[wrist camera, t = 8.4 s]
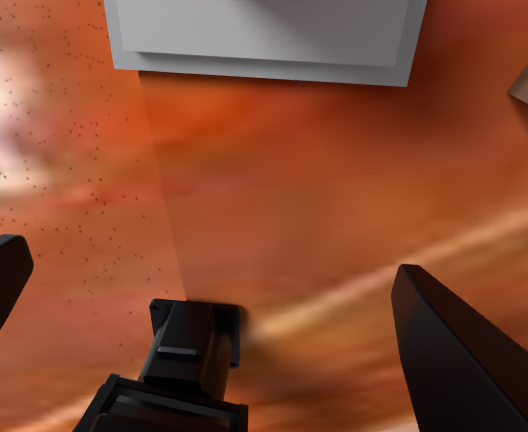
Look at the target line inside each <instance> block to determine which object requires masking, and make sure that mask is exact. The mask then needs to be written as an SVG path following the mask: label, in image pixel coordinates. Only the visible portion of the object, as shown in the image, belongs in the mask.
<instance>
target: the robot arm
mask: <svg viewBox="0 0 528 432" xmlns="http://www.w3.org/2000/svg"><path fill="white" fill-rule="evenodd" d="M33 267H34V262H33V259H32V256H31V253H30V250H29V247H28V244H27V241H26V239H25V238H24V237H23V236H21V235H14V234H3V235H0V330H1V328H2V326H3V325H4V323H5V321H6V320H7V318H8V316H9V314H10V312H11V311H12V309H13V307H14V305H15V303H16V301H17V299H18V298H19V296H20V294H21V292H22V290H23V288H24V287H25V285H26V283H27V281H28V279H29V277H30V275H31V274H32V271H33ZM391 301H392V308H393V314H394V321H395V328H396V335H397V342H398V349H399V355H400V360H401V364H402V368H403V372H404V376H405V380H406V383H407V387H408V391H409V394H410V398H411V402H412V405H413V409H414V413H415V417H416V420H417V424H418V428H419V431H420V432H528V351H527V350H526V349H524V348H523V347H522V346H520V345H519V344H518V343H517V342H515V341H514V340H513V339H512V338H510V337H509V336H508V335H507V334H505V333H504V332H503V331H502V330H500V329H499V328H498V327H496V326H495V325H494V324H493V323H491V322H490V321H489V320H488V319H486V318H485V317H484V316H483V315H481V314H480V313H479V312H477V311H476V310H475V309H474V308H472V307H471V306H470V305H469V304H467V303H466V302H465V301H464V300H462V299H461V298H460V297H459V296H457V295H456V294H455V293H453V292H452V291H451V290H450V289H448V288H447V287H446V286H445V285H443V284H442V283H441V282H440V281H438V280H437V279H436V278H435V277H433V276H432V275H431V274H429V273H428V272H427V271H426V270H424V269H423V268H422V267H420V266H419V265H412V264H401V265H400V266H399V268H398V271H397V274H396V278H395V281H394V285H393V288H392V293H391ZM156 305H157V306H156ZM149 308H150V314H151V320H152V327H153V333H154V341H153V343H152V346H151V348H150V351H149V353H148V356H147V358H146V361H145V363H144V366H143V368H142V370H141V373H140V375H139V378H138V380H137V381H136V380H132V379H128V378H123V377H120V375H117V374H113V373H111V375H110V376H109V378H108V379H107V381H106V383H105V384H102V386H101V387H100V388H99V389H98V391H97V393H96V395H95V397H94V399H93V400H92V402H91V404H90V405H89V407H88V408H87V410H86V412H85V413H84V415H83V417H82V418H81V420H80V422H79V423H78V425H77V426H76V427H75V428H74V429H73V431H72V432H248V405H245V404H241V403H240V404H239V405H238V404H234V403H230V402H225V401H224V395H225V390H226V384H227V378H228V373H229V368H232V369H234V368H237V367H238V366H239V361H240V309H239V307H237V306H234V305H223V304H212V303H201V302H189V301H178V300H166V299H153V300H152V301H151V303H150V306H149ZM232 312H235V313H232Z"/></svg>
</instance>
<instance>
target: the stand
mask: <svg viewBox="0 0 528 432" xmlns="http://www.w3.org/2000/svg"><path fill="white" fill-rule="evenodd" d="M426 3H427V0H104V6H105V12H106V18H107V25H108V31H109V38H110V44H111V51H112V57H113V64H114V69H129V70H145V71H161V72H177V73H193V74H209V75H225V76H241V77H257V78H273V79H289V80H305V81H321V82H337V83H353V84H369V85H385V86H401V87H407V84H408V79H409V75H410V71H411V67H412V62H413V58H414V54H415V50H416V45H417V41H418V37H419V33H420V29H421V24H422V20H423V16H424V12H425V7H426Z"/></svg>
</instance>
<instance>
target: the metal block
mask: <svg viewBox="0 0 528 432" xmlns="http://www.w3.org/2000/svg"><path fill="white" fill-rule="evenodd" d="M507 93H508V94H510V95H512V96H514V97H516V98H518V99H520V100H522V101H524V102H526V103H527V104H528V65H527V66H526V67H525V69H524V70H523V72H522V73H521V74H520V76H519V77H518V79H517V80H516V81H515V83H514V84H513V85H512V87H511V88H510V90H509V91H508V92H507Z"/></svg>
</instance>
